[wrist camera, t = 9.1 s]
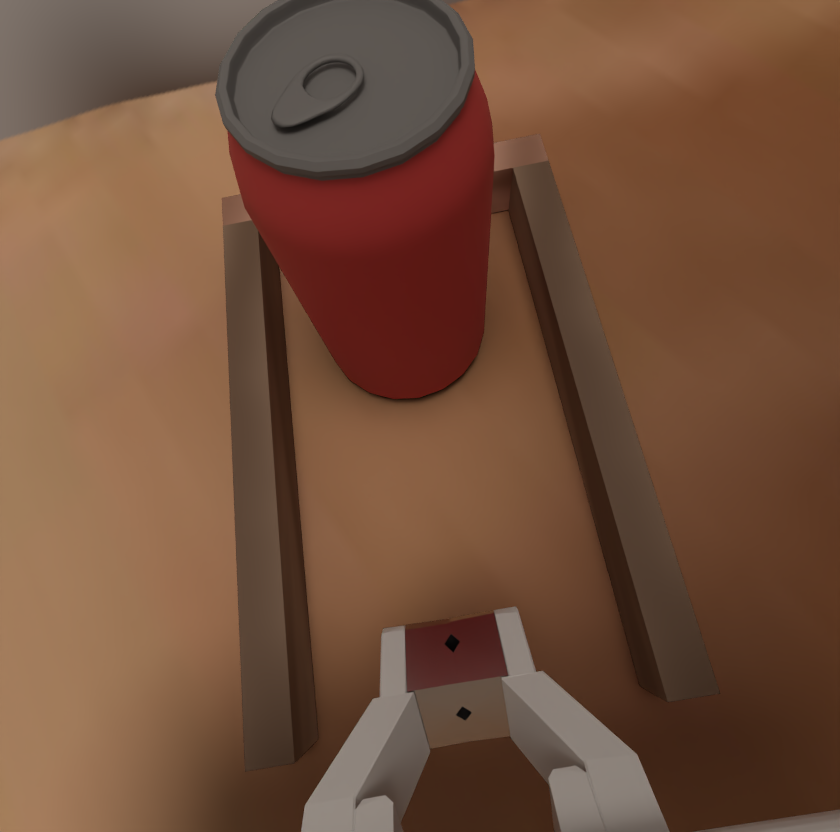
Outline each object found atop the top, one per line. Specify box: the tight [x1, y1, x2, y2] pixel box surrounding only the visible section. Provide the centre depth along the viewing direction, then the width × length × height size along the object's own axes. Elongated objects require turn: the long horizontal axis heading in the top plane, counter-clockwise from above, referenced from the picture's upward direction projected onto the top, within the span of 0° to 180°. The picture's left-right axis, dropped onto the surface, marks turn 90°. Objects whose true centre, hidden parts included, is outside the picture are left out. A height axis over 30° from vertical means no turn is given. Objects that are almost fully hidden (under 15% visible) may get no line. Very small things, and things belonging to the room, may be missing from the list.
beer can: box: [215, 0, 495, 399], centre depth 16 cm, size 7×7×12 cm
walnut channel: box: [222, 134, 720, 771], centre depth 19 cm, size 14×22×2 cm, turn 10°
